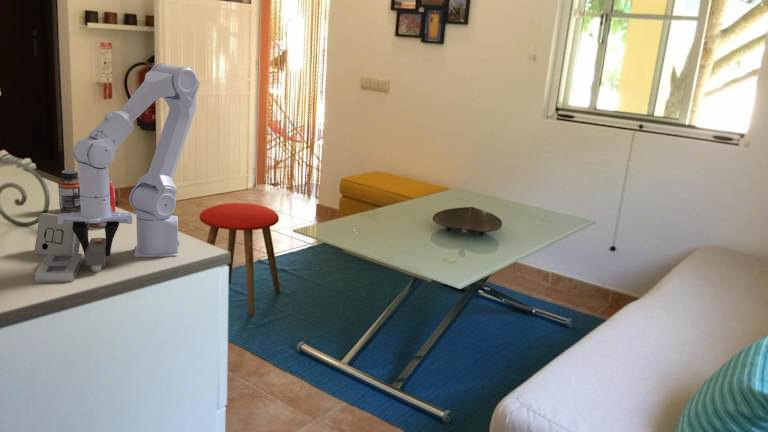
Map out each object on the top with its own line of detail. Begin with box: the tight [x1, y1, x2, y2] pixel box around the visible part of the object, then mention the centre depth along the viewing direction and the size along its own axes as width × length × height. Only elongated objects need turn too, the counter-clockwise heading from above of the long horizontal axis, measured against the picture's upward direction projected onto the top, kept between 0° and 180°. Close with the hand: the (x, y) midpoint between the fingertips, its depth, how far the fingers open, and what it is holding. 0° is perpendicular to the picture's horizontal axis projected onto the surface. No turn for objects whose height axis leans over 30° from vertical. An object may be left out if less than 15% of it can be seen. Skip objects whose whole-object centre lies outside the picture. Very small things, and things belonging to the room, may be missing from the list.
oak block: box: [89, 260, 107, 269], centre depth 137 cm, size 3×3×2 cm
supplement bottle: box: [57, 169, 81, 213], centre depth 173 cm, size 6×6×11 cm
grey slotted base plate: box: [34, 253, 84, 284], centre depth 133 cm, size 7×12×2 cm, turn 17°
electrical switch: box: [34, 212, 81, 256], centre depth 142 cm, size 9×5×9 cm, turn 78°
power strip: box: [84, 237, 108, 273], centre depth 137 cm, size 4×9×5 cm, turn 17°
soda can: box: [88, 178, 116, 229], centre depth 164 cm, size 7×7×12 cm
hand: (97, 254), depth 137 cm, fingers closed on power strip, 4 cm apart
